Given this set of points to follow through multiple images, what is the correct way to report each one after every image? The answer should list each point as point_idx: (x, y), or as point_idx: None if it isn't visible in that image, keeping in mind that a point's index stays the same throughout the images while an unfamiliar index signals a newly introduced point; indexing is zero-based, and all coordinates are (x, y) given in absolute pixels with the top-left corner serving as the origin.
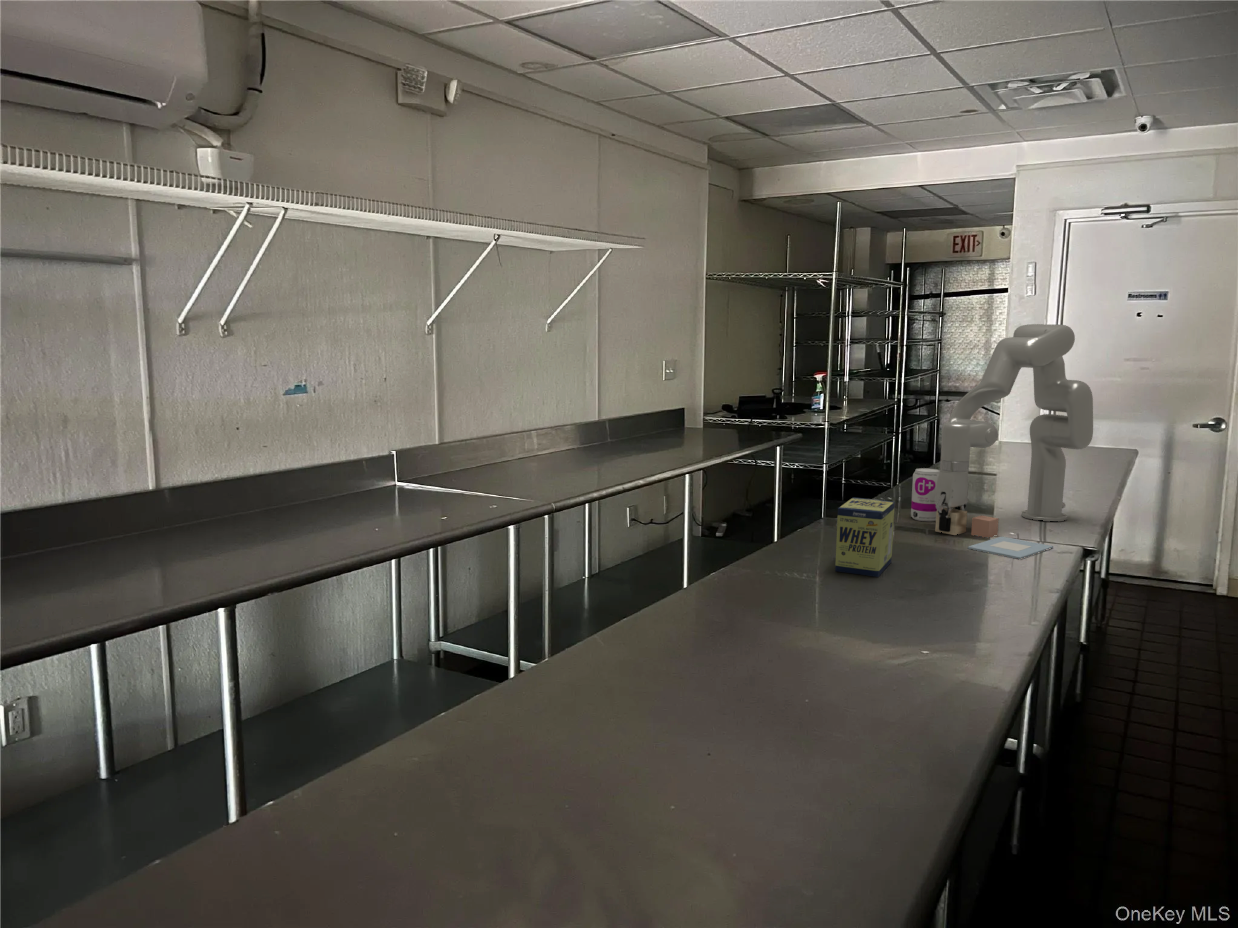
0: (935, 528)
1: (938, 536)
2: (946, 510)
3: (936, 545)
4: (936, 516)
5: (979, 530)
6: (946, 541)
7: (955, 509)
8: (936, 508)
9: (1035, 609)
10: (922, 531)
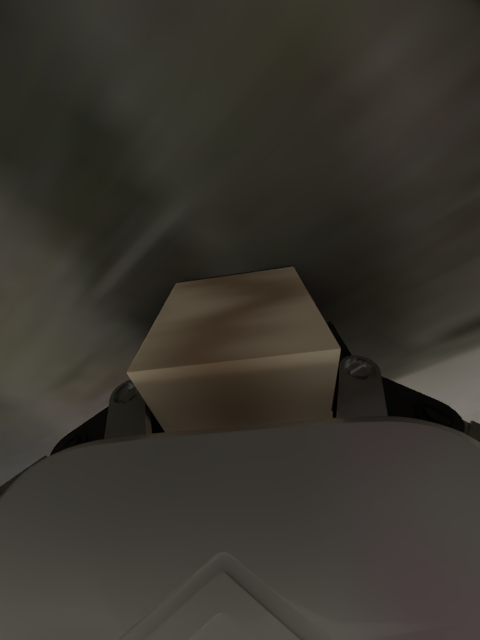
0: (172, 290)
1: (126, 344)
2: (223, 398)
3: (38, 407)
4: (147, 339)
5: None
6: (107, 394)
7: (322, 407)
8: (6, 482)
9: None
10: (107, 240)
